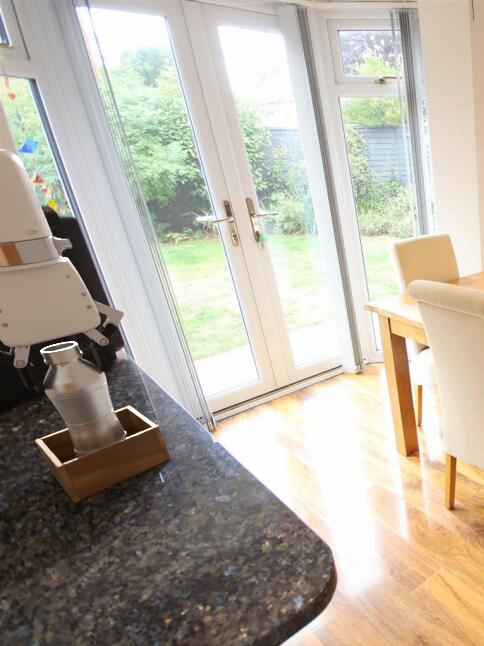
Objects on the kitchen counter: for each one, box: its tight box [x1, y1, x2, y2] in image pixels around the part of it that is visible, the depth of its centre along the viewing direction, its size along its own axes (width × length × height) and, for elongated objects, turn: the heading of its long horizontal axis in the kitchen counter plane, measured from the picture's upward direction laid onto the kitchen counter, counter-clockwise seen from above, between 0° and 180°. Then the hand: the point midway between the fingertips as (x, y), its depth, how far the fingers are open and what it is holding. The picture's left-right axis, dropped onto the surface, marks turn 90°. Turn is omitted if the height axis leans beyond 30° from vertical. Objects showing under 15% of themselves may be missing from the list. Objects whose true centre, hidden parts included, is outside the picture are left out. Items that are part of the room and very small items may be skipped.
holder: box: [34, 405, 172, 504], centre depth 70 cm, size 12×12×6 cm
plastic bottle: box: [40, 341, 129, 458], centre depth 67 cm, size 6×7×20 cm
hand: (73, 378), depth 65 cm, fingers closed on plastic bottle, 6 cm apart
